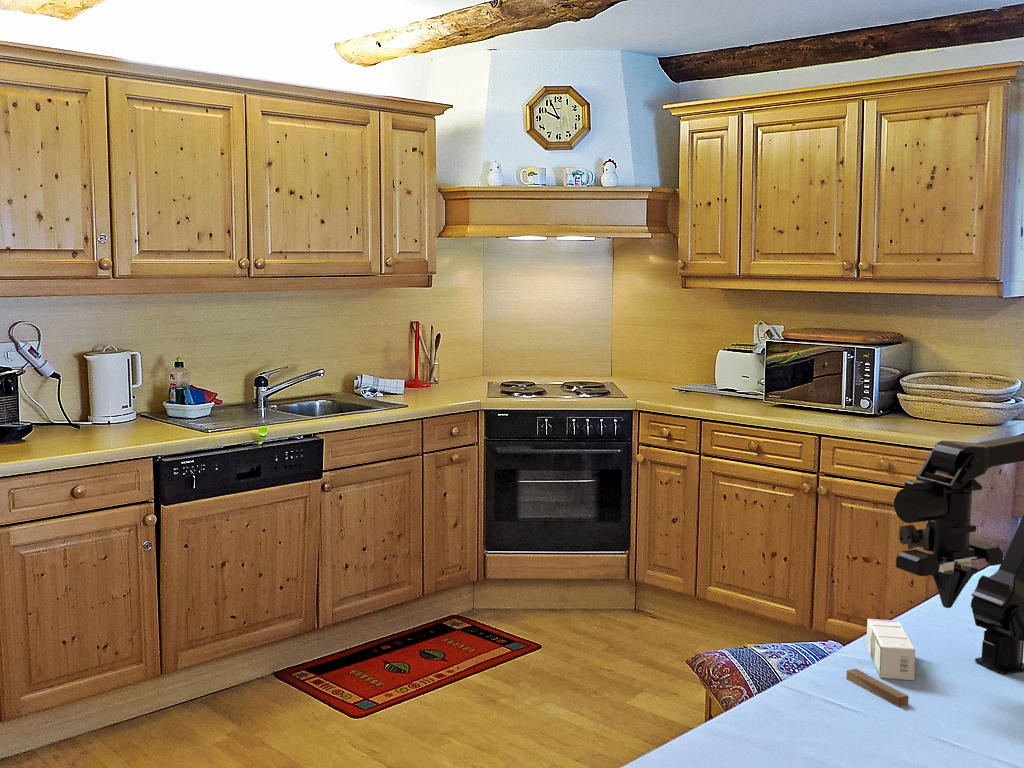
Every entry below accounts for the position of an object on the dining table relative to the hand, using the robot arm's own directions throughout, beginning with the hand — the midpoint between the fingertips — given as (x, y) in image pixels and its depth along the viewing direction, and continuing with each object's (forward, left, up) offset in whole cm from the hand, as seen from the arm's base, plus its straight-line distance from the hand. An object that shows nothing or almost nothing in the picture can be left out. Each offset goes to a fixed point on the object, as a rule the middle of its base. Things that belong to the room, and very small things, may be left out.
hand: (946, 607), depth 175 cm
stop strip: (+15, 0, -12) cm, 19 cm away
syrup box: (+8, -2, -10) cm, 13 cm away
